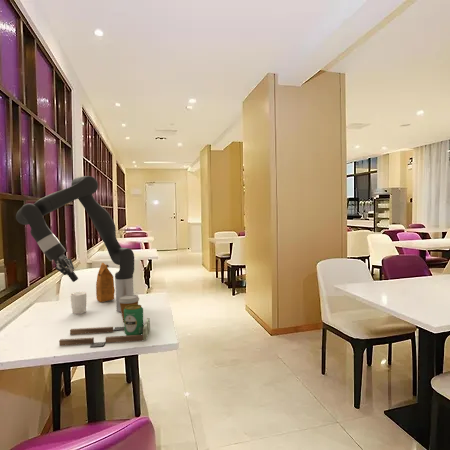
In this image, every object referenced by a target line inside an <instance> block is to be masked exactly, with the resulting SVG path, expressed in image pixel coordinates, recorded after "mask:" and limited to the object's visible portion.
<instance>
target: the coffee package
mask: <svg viewBox="0 0 450 450" xmlns="http://www.w3.org/2000/svg"><path fill="white" fill-rule="evenodd" d="M109 267H110V265H109V264H105V263H104V262H101V264H100V266H99V270H98V272H97V276H96V282H95V291H96V292H95V295H96V300H97V302H98V301H99V303H105V302H108V301H109V302H110V301H113V300H115V293H116V288H115V281H114V279H115V278H114V275H113V274H112V272H111V270H109Z"/></svg>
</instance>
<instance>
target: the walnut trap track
mask: <svg viewBox="0 0 450 450" xmlns="http://www.w3.org/2000/svg"><path fill="white" fill-rule="evenodd" d="M150 330H151V320H150V317H147V318H146V320H145V322H144V327H143V334H142V335H127V336H126V335H115V336H114V335H113V336H106V337H105V339H104V340H105V341H99V342H96V341H95V338H94V336H93V337H78V338H77V337H76V338H61V339H60V340H59V341H58V342H59V346H75V345H77V346H78V345H90V346H89V348H103V347H104V346H105V344H108V343H109V344H110V343H127V342H126V341H129V342H140V341H142V340H147V339H146V338H148V336H149V332H150ZM120 331H125V329H124V326H116V327H114V326H98V327H82V328H71V329H70V330H69V334H70V335H86V334H87V335H88V334H89V335H90V334H105V333H106V334H107V333H113V332H120ZM147 335H148V336H147ZM142 342H143V341H142Z"/></svg>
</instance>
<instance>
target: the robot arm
mask: <svg viewBox="0 0 450 450" xmlns="http://www.w3.org/2000/svg"><path fill="white" fill-rule="evenodd" d="M98 188H99V182H98V180H97V179H96V178H95V177H93V176H90V175H84V176H77V177H75V178H73V179H72V180H71V184H70V186H69V187H67V188H64V189H61V190H59V191H58V190H57V191H55V192H52V193H49V194H47V195H46V196H44V197H41V198H40V199H38V200H37V201H35V202H34V203H26V204H23V205H22V206H21V207H20V208H19V210H17V212H16V215H15V219H16V221H17V222H18V223H19V224H20V225H24V226H25V225H29V227H30V235H31V236H32V238H33V239H34V241H35V242H36V244H37V245H38V247H39V249H40V250H41V251H42V253H43V254H44V256H46V258H47V259H48V261H49V262H52V261H54V264H55V265H56V266H55V269H56V270H57V271H59V272H60V273H61V274H63V275H64V276H68V278H69V279H70V280H71V282H73V283H74V282H76V281H77V280H79V277H78V276H77V275H76V272H75V271H74V270H75V267H74V263H73V260H72V259H71V258H68V257H67V256H66V255H65V252H66V251H67V250H66V248H65V247H64V245H62V243H61V241H60V240H59V239H58V237H56V235H55V234H54V233H53V232H52V231H51V229H50V228H49V226H48V225H47V223H46V220H45V216H46V215H48V214H50V213H52V212H54V211H56V210H57V209H58V210H59V209H60V208H61V207H64V206H65V205H68V204H69V203H71V202H73V201H76V200H79V202H80V204H81V206H83V208H84V210H85V211H86V213H87V215H88V217H89V218H90V221H91V222H92V225H93V226H94V228H95V230H96V231H97V233H98V234H99V236H100V238H101V240H102V242H103V243H104V246H105V248H106V250H107V253H108V255H109V257H110V260H111V262H113V264H116V265H117V266H119V270H118V271H117V272H115V274H114V279H115V281H114V287H115V299H116V300H115V309H116V312H118V313H121V307H120V303H119V298H120V297H121V296H124V295H135V294H134V273H135V253H134V251H133V250H132V249H131V248H128V247H122V246H121V244H120V243H119V241H118V239H117V235H116V233H117V232H116V231H117V230H116V224H115V221H114V220H113V218H112V216H111V214H110V212H108V210H107V209H105V208H104V207H103V206H102V205H101V204H100V203H98V202H97V200H96V198H95V197H94V194H95V193H96V192H97V191H98Z"/></svg>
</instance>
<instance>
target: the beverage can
mask: <svg viewBox="0 0 450 450" xmlns="http://www.w3.org/2000/svg"><path fill="white" fill-rule="evenodd" d="M123 324H124V326H123V327H124V329H125V332H124V334H125V336H127V335H141V334H142V335H143V327H144V325H145V322H144V308H143V306H142V305H141V304H138V305H137V304H135V305H128V306H126V307H125V309H124V323H123Z"/></svg>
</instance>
